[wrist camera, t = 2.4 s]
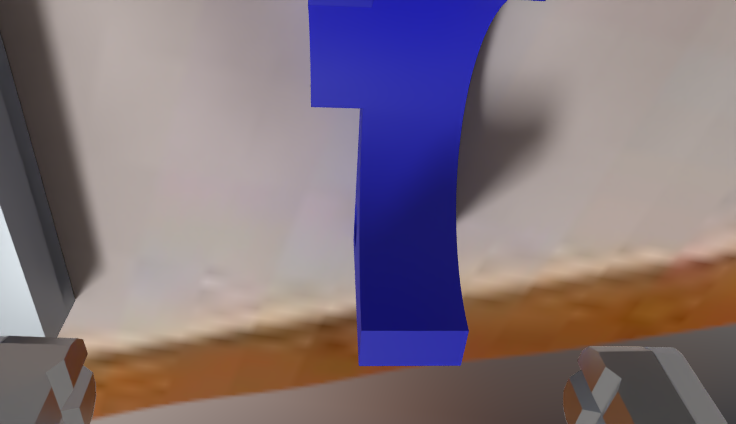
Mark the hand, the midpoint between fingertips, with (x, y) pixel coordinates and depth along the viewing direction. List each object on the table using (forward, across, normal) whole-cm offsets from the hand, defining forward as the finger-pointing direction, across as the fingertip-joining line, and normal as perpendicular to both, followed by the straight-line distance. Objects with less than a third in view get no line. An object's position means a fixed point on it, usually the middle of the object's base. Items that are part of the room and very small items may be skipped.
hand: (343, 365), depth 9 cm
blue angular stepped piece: (+11, -2, 0) cm, 11 cm away
